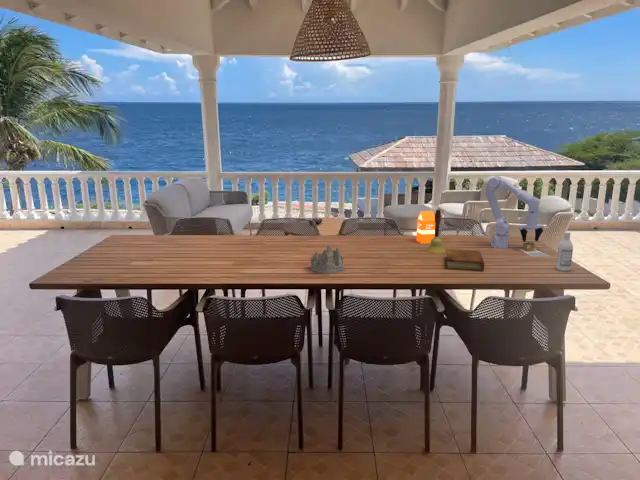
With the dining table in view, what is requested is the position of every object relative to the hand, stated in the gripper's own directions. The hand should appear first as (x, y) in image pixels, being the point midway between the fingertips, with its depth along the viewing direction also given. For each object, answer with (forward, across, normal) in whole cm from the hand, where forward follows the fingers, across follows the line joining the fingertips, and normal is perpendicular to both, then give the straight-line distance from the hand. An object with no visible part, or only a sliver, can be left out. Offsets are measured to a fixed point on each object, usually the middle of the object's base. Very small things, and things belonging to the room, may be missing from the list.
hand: (530, 241), depth 297 cm
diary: (+7, -49, -20) cm, 53 cm away
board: (+6, 0, -5) cm, 8 cm away
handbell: (+7, -55, +8) cm, 56 cm away
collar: (+6, 0, 0) cm, 6 cm away
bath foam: (+7, -1, -35) cm, 36 cm away
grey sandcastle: (+6, -123, -22) cm, 125 cm away
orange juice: (+6, -54, +31) cm, 62 cm away
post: (+6, 0, 0) cm, 7 cm away
